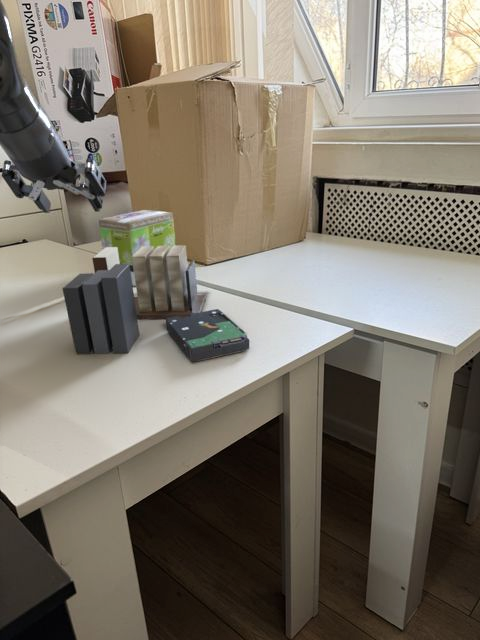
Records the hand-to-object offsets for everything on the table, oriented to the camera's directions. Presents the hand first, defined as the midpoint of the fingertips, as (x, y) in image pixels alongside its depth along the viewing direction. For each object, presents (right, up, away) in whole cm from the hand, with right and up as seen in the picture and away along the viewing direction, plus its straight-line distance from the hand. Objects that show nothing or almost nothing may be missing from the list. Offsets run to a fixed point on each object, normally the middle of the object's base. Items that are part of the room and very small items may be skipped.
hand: (73, 207), depth 85 cm
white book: (+2, -15, +17) cm, 23 cm away
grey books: (+5, -23, +3) cm, 24 cm away
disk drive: (+22, -22, +3) cm, 32 cm away
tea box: (+3, -6, +39) cm, 40 cm away
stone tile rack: (+9, -16, +18) cm, 25 cm away
